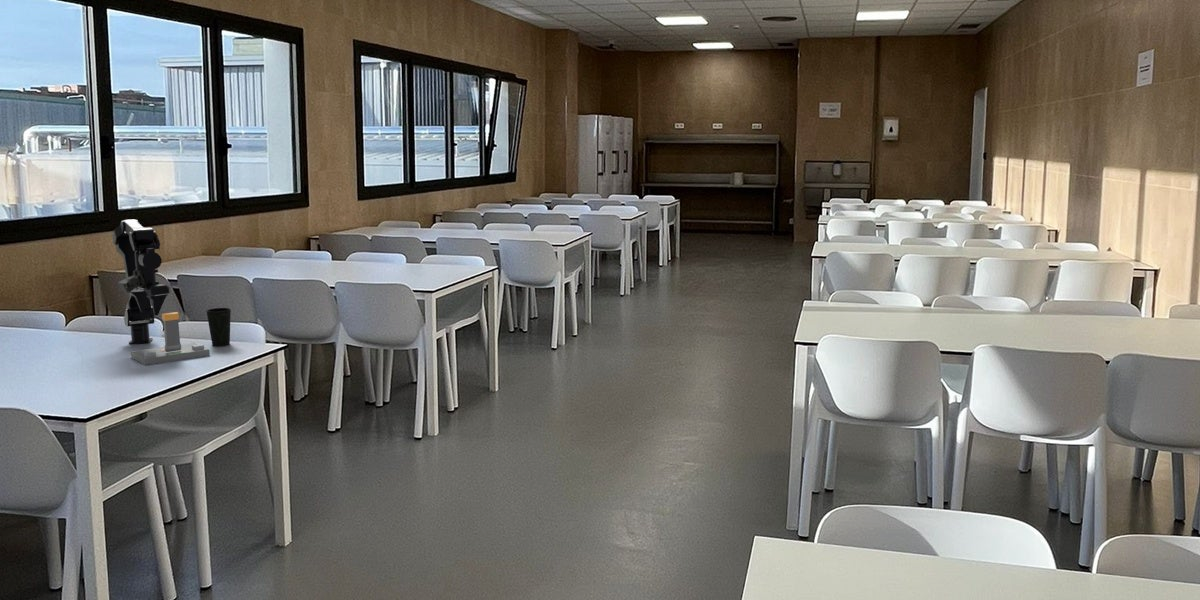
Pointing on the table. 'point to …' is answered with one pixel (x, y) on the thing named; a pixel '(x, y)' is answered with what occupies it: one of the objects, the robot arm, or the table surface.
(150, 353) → the panel
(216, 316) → the cup
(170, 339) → the handle
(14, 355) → the table surface
